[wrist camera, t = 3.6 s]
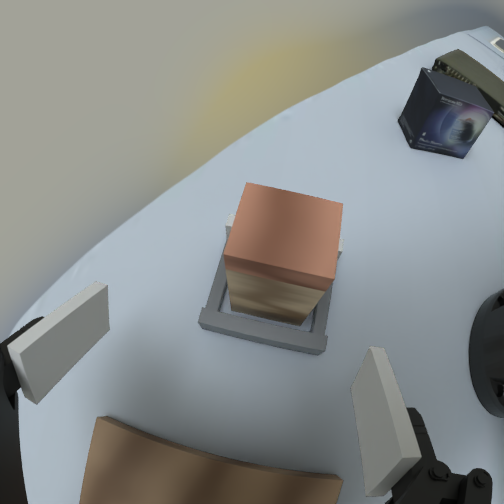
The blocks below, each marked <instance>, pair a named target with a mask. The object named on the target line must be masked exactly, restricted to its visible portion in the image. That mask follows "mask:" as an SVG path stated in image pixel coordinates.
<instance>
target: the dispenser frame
mask: <svg viewBox="0 0 504 504" xmlns="http://www.w3.org/2000/svg"><path fill="white" fill-rule="evenodd" d="M235 216H236V215H233V214H229V217H228V220H227V223H226V234H227V240H226V243H225V246H224V250H225V247H226V244H227V241H228V238H229V235H230V231H231V228H232V225H233V222H234V219H235ZM343 243H344V239H339V248H338V256H337V260H338V258H339V257H340V255H341V253H342V252H343ZM224 250H223V253H222V256H221V259H220V262H219V265H218V269H217V272H216V275H215V278H214V282H213V285H212V288H211V291H210V295H209V298H208V301H207V305H206V308H203V307H202V310H201V313H200V316H199V320H198V323H199V324H200V326H201V327H202V329H206V330H210V331H213V332H217V333H221V334H225V335H229V336H233V337H237V338H241V339H245V340H249V341H253V342H258V343H262V344H266V345H271V346H275V347H280V348H285V349H289V350H294V351H299V352H304V353H309V354H314V355H319V354H321V353H322V352H324V351H325V349H326V343H327V338H328V336H325V329H326V323H327V317H328V311H329V305H330V298H331V292H332V285H333V282H332V283H331V285H330V286H329V288H328V289H327V290H326V292H325V293H324V295H323V296H322V297H321V299H320V300H319V301H318V303H317V304H316V305H315V311H314V316H313V322H312V327H311V332H305V331H300V330H295V329H291V328H286V327H281V326H277V325H272V324H268V323H264V322H259V321H255V320H251V319H247V318H242V317H238V316H234V315H230V314H226V313H222V312H219V311H220V307H221V304H222V300H223V297H224V293H225V290H226V286H227V276H226V269H225V262H224V255H223V254H224Z"/></svg>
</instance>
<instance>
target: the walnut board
mask: <svg viewBox="0 0 504 504" xmlns="http://www.w3.org/2000/svg"><path fill="white" fill-rule="evenodd" d="M342 483H343V480H342V479H341V478H340V477H338V476H337V475H332V474H320V473H310V472H302V471H294V470H287V469H280V468H274V467H268V466H263V465H258V464H253V463H248V462H243V461H238V460H234V459H230V458H226V457H222V456H218V455H214V454H210V453H207V452H203V451H199V450H196V449H193V448H189V447H186V446H183V445H180V444H177V443H174V442H171V441H168V440H165V439H162V438H159V437H156V436H154V435H151V434H148V433H146V432H143V431H141V430H138V429H136V428H133V427H131V426H128V425H126V424H123V423H121V422H119V421H117V420H114V419H112V418H110V417H108V416H103V417H97V419H96V423H95V427H94V431H93V435H92V440H91V444H90V449H89V453H88V458H87V463H86V468H85V473H84V479H83V484H82V490H81V496H80V503H79V504H336V502H337V499H338V496H339V493H340V490H341V486H342Z"/></svg>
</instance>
